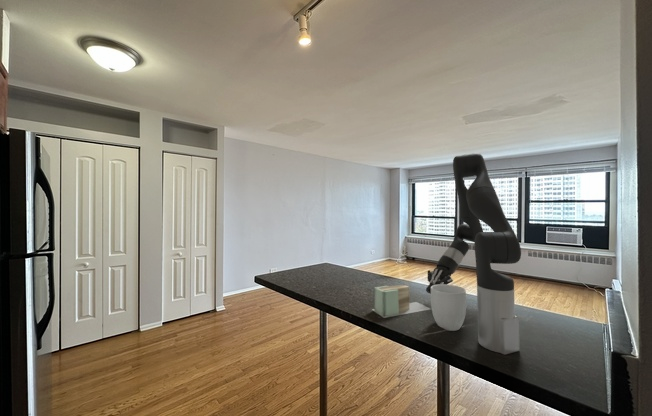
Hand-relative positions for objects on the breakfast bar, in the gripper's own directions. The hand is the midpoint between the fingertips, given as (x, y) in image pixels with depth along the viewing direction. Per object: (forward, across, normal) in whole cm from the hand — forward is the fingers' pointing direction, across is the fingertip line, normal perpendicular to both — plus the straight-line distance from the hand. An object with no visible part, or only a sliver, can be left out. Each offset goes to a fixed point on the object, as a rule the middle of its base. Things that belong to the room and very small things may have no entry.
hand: (428, 292), depth 109 cm
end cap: (+18, 0, -11) cm, 21 cm away
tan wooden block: (+16, 0, -8) cm, 18 cm away
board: (+14, 0, -5) cm, 15 cm away
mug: (+9, +18, 0) cm, 20 cm away
